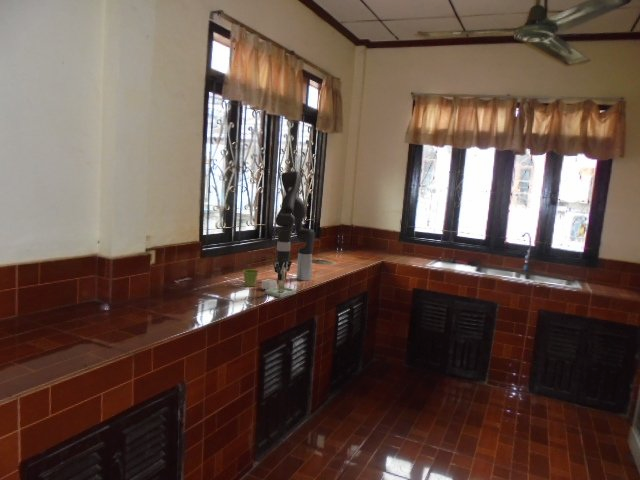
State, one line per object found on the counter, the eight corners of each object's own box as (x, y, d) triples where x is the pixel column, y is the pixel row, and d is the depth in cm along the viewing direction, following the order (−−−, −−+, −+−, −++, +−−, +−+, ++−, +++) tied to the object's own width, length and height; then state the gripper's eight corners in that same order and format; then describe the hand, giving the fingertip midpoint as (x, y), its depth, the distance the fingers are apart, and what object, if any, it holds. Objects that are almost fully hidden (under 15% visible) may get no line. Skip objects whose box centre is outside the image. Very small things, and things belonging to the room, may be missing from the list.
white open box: (268, 287, 275) (268, 278, 274) (276, 289, 272) (276, 280, 271) (261, 288, 270) (261, 280, 269) (269, 290, 267) (270, 282, 266)
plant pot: (259, 284, 281) (260, 270, 279) (256, 287, 271) (256, 273, 270) (244, 283, 281) (245, 269, 280) (240, 286, 272) (241, 271, 271)
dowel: (280, 290, 264) (282, 266, 262) (285, 291, 262) (286, 267, 260) (276, 291, 261) (278, 267, 260) (281, 292, 260) (282, 267, 258)
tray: (281, 289, 271) (281, 286, 271) (296, 293, 265) (296, 289, 265) (264, 293, 259) (264, 290, 259) (279, 297, 253) (280, 294, 252)
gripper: (286, 247, 267) (284, 276, 269) (270, 249, 255) (268, 280, 257) (296, 249, 262) (294, 279, 265) (280, 251, 251) (278, 282, 253)
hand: (281, 279), depth 261 cm, fingers closed on dowel, 3 cm apart
